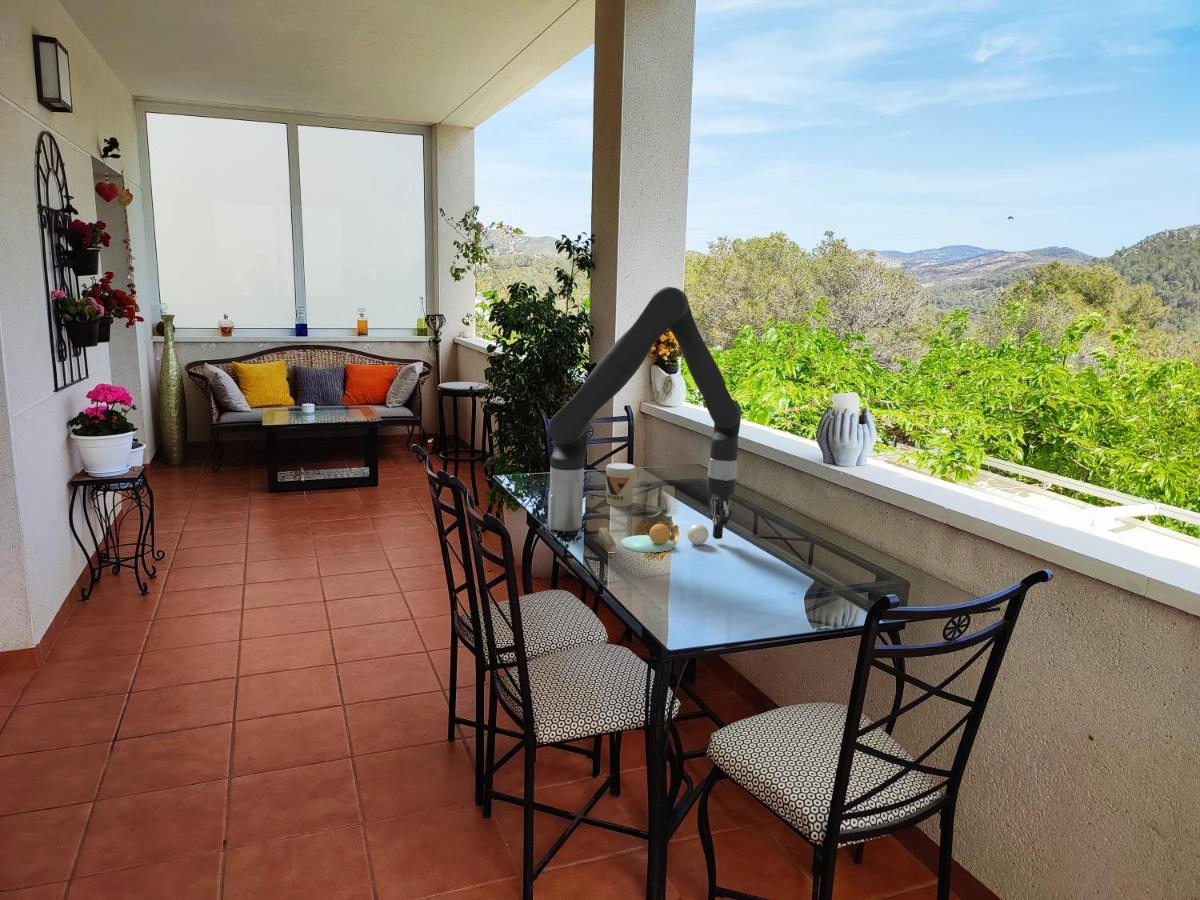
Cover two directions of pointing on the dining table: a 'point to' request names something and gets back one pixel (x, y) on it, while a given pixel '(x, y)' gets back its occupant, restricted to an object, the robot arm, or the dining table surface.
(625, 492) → the coffee cup
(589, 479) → the dining table surface
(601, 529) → the brown wooden bar
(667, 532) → the object ball
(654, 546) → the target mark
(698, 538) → the cue ball
